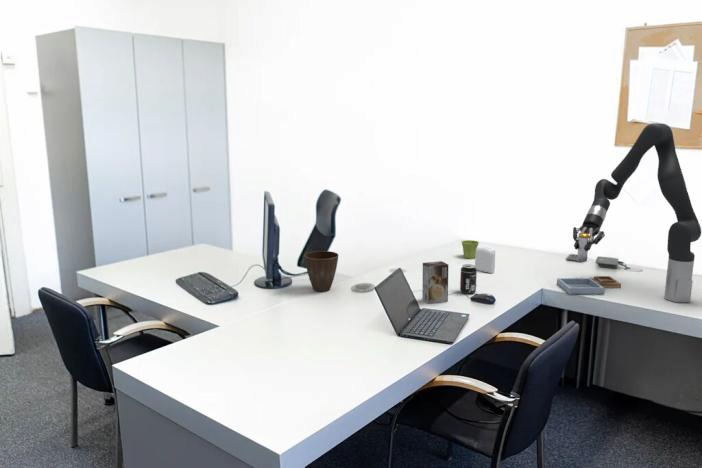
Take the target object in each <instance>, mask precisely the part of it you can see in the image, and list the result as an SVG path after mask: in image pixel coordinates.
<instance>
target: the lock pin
mask: <svg viewBox="0 0 702 468" xmlns="http://www.w3.org/2000/svg"><path fill="white" fill-rule="evenodd" d="M578 236H579V243H578V249H577V257H576V261H577V262H581V263H586V262H587V261H588V251H589V250H588V251H586V250H585V247H586V245H587V243H588V242H589V237H590V234H588V233H580V232H579V233H578Z"/></svg>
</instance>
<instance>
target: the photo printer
mask: <svg viewBox="0 0 702 468" xmlns="http://www.w3.org/2000/svg"><path fill="white" fill-rule="evenodd" d="M474 265H475V268H476V269H477V271H479V272H483V273H484V272H485V273H489V274H493V273H494V272H495V271H496V270H495V267H496V251H495V249H493V248H492V247H489V246H487V245H486V246H483V245H482V246H481V245H480V246H477V248H476V254H475V258H474Z"/></svg>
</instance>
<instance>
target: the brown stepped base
mask: <svg viewBox="0 0 702 468" xmlns="http://www.w3.org/2000/svg"><path fill="white" fill-rule="evenodd" d="M588 278H591V279H592V280H594V281H595V282H597V283H598V284H599V285H601V286H602V287H604V288H605V289H621V288H622V287H621V286H622V283H621V282H619V281H618V280H616V279H614V278H613V277H611V276H610V275H595V276H591V277H588Z"/></svg>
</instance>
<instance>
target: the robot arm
mask: <svg viewBox="0 0 702 468" xmlns="http://www.w3.org/2000/svg"><path fill="white" fill-rule="evenodd" d="M653 147H654V149H655V151H656V155H657V158H658V165H657V166H658V167H657V173H656V174H657V182H658V185H659V189H660V192H661V194H662V196H663V197H664V199H665V200H666V201H667V203H668V204H669V205H670V206H671V208H672V210H673V211H674V213H675V217H676V222H673V223H672V224H671V225H670V227H669V229H668V233H667V234H668V235H667V244H666V245H667V247H666V250H667V253H668V258H667V259H668V261H667V268H666V277H665V286H664V296H663V297H664V299H666V300H667V301H670V302H673V303H691V298H692V288H693V282H694V281H693V273H694V264H695V259H696V258H695V256H696V255H695V253H694V252H692V251H691V244H692V243H695V242H696V241H698V240H699V239H700V238H701V236H702V228H701V224H700V222H699V219H698V218H697V215H696V212H695V210H694V207H693V205H692V200H691V198H690V195H689V191H688V187H687V184H686V181H685V177H684V174H683V172H682V168H681V164H680V162H679V158H678V155H677V150H676V146H675V140H674V135H673V130H672V128H671V127H670V126H669V125H668V124H666V123H661V122H652V123H649V124H647V125H646V126H645V127H644V128H643V129H642V131H641V132H640V133H639V135H638V136H637V138H636V141H635V142H634V143H633V145H632V146H631V148H630V150H629V151H628V152H627V154H626V155H625V157H624V158H623V159H622V160H621V161H620V163H619V164H618V165H617V166H616V167H615V168H614V169H613V170H612V172H611V173H610V176H611V179H613V180H614V182H615V183H616V184H615V183H614V182H612V181H610V180H608V179H606V178H602V179H600V180H598V181H597V182H596V184H595V187H594V196H593V202H592V203H591V206H590V208H589V209H588V211H587V213H586V216H585V218H584V220H583V221H582V225H581V226H580V227H575V226H574V227H573V229H572V238H573V240H574V244H573V247H574V250H575V251H578V243H579V235H578V234H579V233H588V234H590V237H589V242H588V243H587V245H586V247H585V250H586V251H590V250H591V248H592V246H593V245H598V244H599V243H600V242H601V241H602V239H603V238H604V237H605V236H606V235H605V232H604V230H603V231H601V228H602V225H603V223H604V221H605V219H606V215H607V212H608V210H609V208H610V205H611V201H613V200H616V199H617V198H619V196H620V193H621V191H622V189H623V187H624V185H625V184H626V183H627V181H628V179H629V178H630V177H632V175H633V174H634V173H635V171H637V169H638V167H639V165H640V163H641V161H642V158H643V157H644V156H645V155H646V153H647V152H648V151H649V150H651V149H652V148H653ZM595 236H596V237H595Z"/></svg>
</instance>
